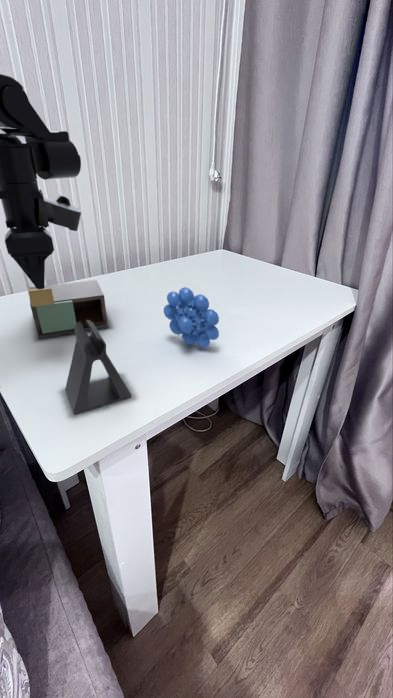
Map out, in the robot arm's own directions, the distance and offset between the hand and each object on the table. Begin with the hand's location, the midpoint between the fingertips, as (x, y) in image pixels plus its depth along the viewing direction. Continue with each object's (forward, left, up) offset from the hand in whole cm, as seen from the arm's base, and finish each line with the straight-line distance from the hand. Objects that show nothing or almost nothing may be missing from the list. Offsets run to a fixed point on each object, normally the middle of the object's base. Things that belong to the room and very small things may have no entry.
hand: (39, 279), depth 59 cm
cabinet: (+4, +7, -13) cm, 15 cm away
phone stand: (+5, -20, -13) cm, 24 cm away
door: (+1, +2, -12) cm, 12 cm away
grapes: (+24, -12, -13) cm, 30 cm away
